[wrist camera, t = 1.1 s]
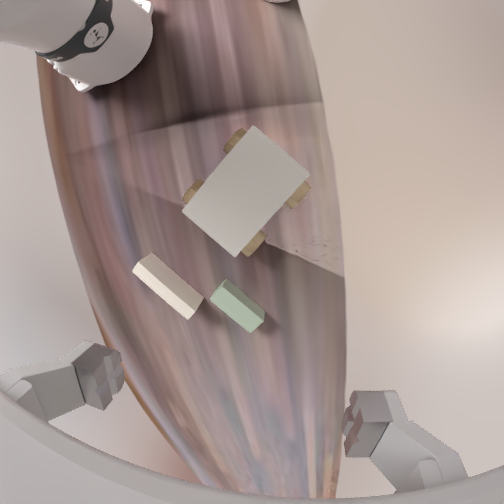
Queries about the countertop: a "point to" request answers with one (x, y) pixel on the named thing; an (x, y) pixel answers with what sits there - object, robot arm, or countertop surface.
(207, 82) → the countertop surface
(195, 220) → the stone slab
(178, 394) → the countertop surface
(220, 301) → the block
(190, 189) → the rail
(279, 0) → the bottle
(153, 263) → the block
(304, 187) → the rail
